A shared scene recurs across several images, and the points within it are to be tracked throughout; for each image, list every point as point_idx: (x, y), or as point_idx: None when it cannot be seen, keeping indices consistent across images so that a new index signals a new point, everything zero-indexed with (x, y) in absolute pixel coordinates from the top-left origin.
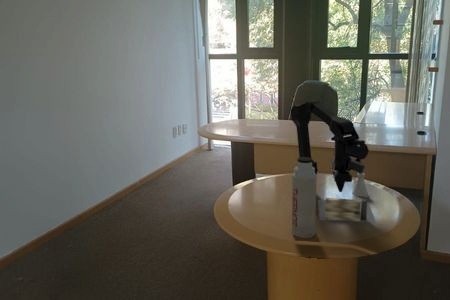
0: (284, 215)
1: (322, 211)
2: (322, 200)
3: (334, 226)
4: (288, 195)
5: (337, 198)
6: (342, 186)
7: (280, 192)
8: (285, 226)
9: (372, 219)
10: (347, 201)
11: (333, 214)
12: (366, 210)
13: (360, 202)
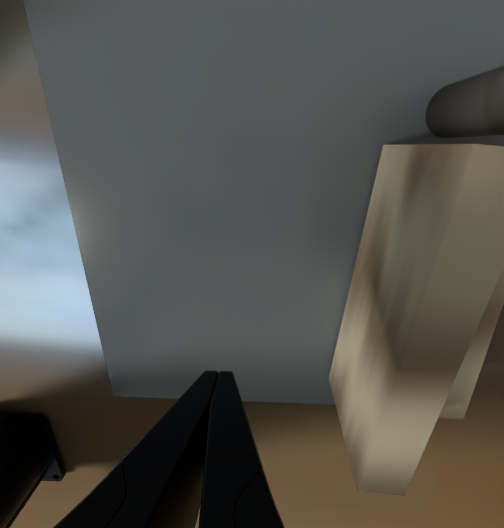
0: (333, 519)
1: (306, 386)
2: (119, 374)
3: (500, 326)
4: (73, 499)
5: (386, 406)
6: (253, 453)
7: (46, 523)
8: (460, 520)
9: (483, 15)
10: (476, 313)
11: (476, 368)
12: None
13: (70, 90)
